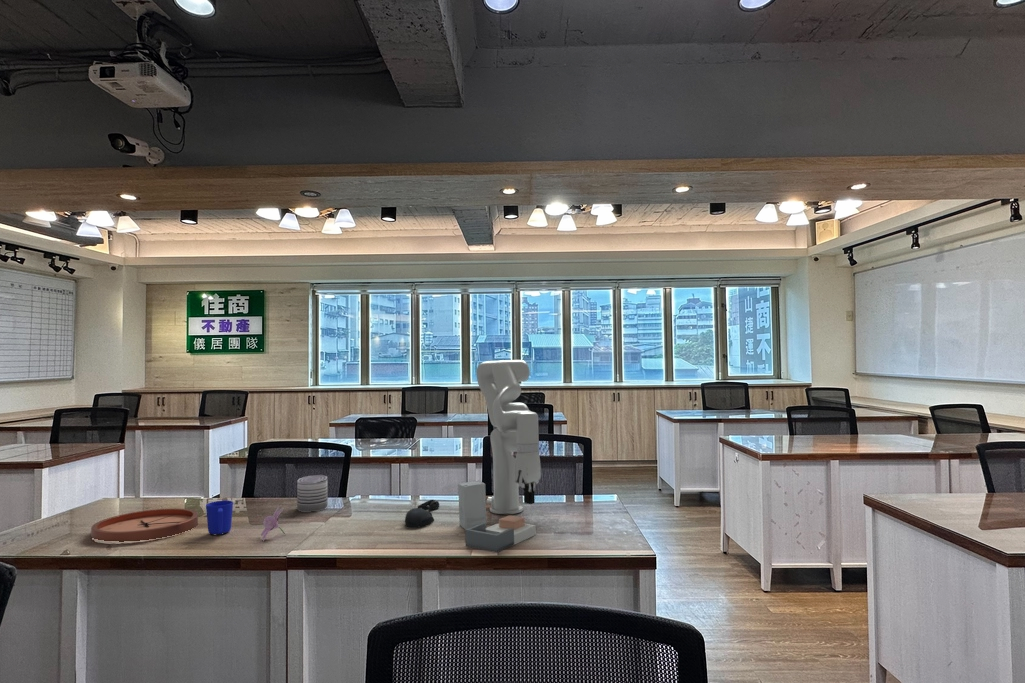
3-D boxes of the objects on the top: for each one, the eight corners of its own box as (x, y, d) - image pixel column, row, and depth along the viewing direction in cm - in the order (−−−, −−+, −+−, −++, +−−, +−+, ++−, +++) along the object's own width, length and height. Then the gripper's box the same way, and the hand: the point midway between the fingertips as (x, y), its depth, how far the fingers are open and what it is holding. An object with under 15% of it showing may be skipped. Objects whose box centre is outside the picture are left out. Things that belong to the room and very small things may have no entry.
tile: (499, 527, 193) (498, 519, 193) (509, 522, 197) (509, 515, 198) (514, 529, 189) (514, 522, 189) (524, 525, 194) (524, 517, 194)
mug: (206, 541, 192) (206, 510, 192) (205, 531, 203) (206, 502, 203) (234, 537, 196) (234, 506, 196) (232, 528, 206) (232, 499, 207)
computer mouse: (401, 529, 203) (401, 513, 203) (420, 506, 236) (420, 492, 236) (428, 529, 203) (428, 513, 203) (444, 506, 235) (444, 492, 235)
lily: (267, 534, 202) (253, 512, 199) (300, 519, 203) (286, 497, 200) (261, 556, 191) (246, 533, 188) (295, 540, 192) (281, 517, 189)
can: (333, 507, 235) (333, 476, 235) (310, 513, 225) (310, 481, 225) (314, 503, 241) (314, 473, 241) (290, 509, 231) (290, 478, 232)
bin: (465, 546, 183) (465, 529, 183) (483, 538, 190) (483, 522, 191) (496, 552, 176) (496, 535, 176) (514, 544, 184) (513, 528, 184)
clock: (67, 529, 195) (149, 506, 225) (67, 541, 195) (149, 517, 225) (143, 535, 186) (218, 510, 217) (143, 548, 186) (218, 522, 216)
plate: (483, 538, 190) (483, 529, 191) (505, 529, 201) (505, 520, 201) (514, 544, 184) (514, 534, 184) (535, 534, 194) (535, 525, 194)
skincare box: (480, 522, 210) (479, 479, 210) (487, 526, 204) (486, 483, 205) (458, 525, 206) (457, 482, 206) (464, 529, 201) (463, 485, 201)
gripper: (530, 445, 210) (532, 498, 209) (506, 450, 198) (507, 506, 197) (548, 446, 206) (550, 500, 205) (524, 451, 194) (526, 508, 193)
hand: (529, 503), depth 201 cm, fingers closed
